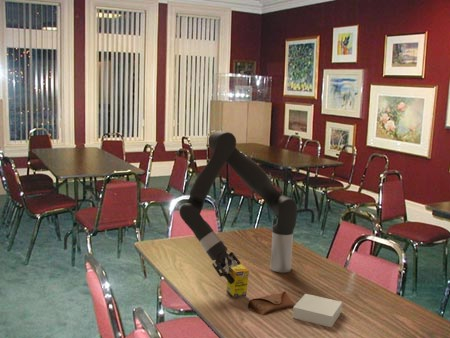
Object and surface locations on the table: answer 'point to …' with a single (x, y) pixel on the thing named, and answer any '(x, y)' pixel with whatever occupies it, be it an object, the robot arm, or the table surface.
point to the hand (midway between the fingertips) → (237, 279)
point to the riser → (317, 310)
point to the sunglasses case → (271, 303)
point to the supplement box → (238, 281)
